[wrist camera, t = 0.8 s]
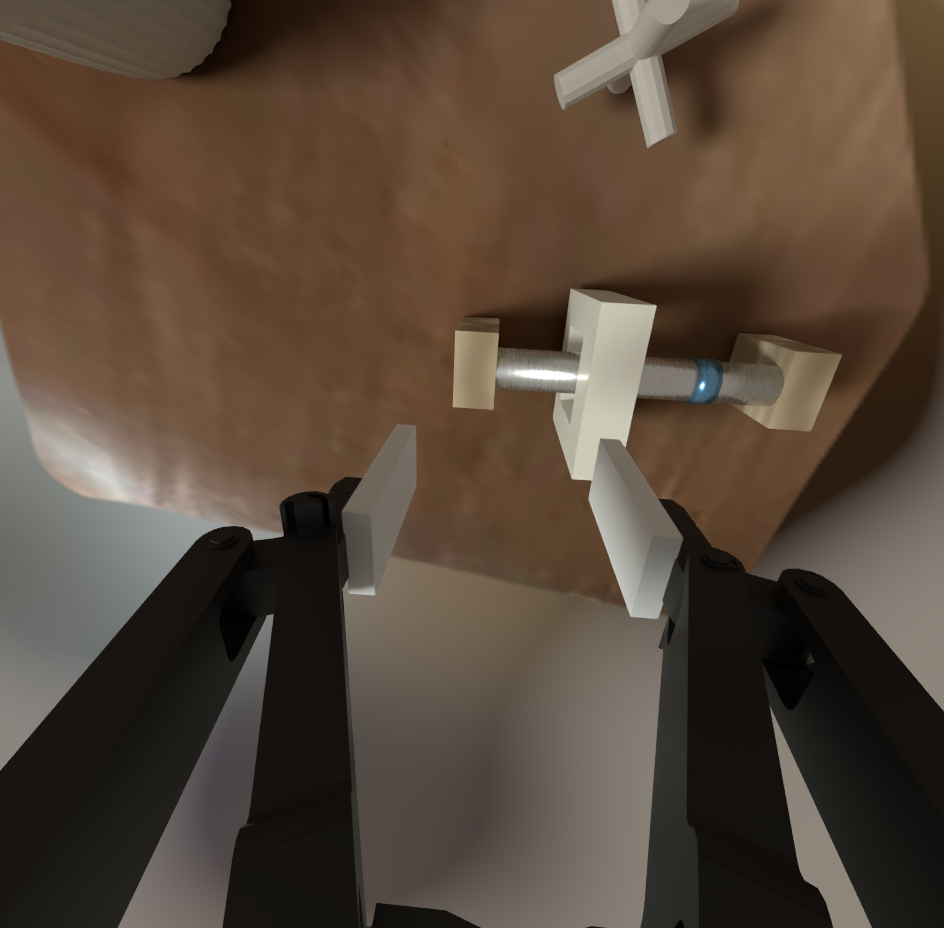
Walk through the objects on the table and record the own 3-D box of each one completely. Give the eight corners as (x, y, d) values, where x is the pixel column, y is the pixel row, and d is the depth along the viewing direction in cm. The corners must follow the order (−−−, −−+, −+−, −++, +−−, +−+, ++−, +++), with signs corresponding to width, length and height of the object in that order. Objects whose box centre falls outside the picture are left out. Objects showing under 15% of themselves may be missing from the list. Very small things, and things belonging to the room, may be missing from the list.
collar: (552, 418, 40) (571, 478, 29) (570, 288, 35) (601, 302, 24) (586, 420, 39) (617, 482, 29) (608, 290, 35) (656, 305, 24)
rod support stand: (461, 379, 40) (452, 406, 32) (464, 316, 37) (455, 330, 30) (753, 398, 39) (810, 431, 31) (774, 335, 36) (842, 354, 29)
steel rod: (463, 381, 35) (459, 393, 32) (465, 339, 33) (461, 347, 30) (783, 403, 34) (810, 417, 31) (799, 360, 32) (829, 370, 29)
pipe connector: (710, 120, 30) (797, 63, 21) (573, 190, 33) (600, 165, 24) (676, -62, 27) (764, -223, 18) (524, 31, 29) (535, -70, 20)
